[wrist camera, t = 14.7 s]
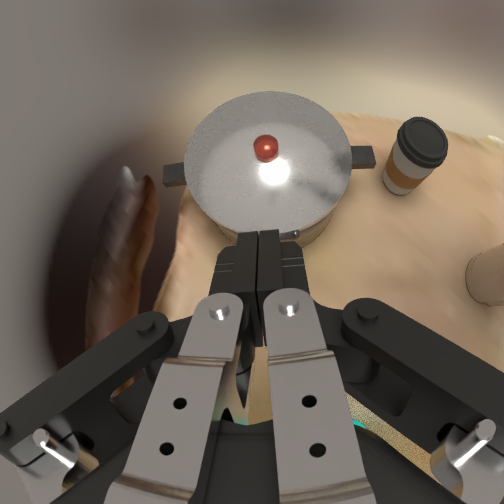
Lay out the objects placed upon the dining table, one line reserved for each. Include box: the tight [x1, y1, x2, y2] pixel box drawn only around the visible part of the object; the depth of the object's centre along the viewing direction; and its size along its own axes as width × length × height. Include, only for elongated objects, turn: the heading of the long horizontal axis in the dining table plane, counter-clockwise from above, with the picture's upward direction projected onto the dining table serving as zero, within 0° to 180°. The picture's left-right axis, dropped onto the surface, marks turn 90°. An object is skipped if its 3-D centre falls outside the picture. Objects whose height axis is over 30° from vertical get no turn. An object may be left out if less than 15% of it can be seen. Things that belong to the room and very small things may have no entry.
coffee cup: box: [383, 117, 448, 195], centre depth 43 cm, size 8×8×15 cm
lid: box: [184, 91, 352, 241], centre depth 39 cm, size 23×24×3 cm
